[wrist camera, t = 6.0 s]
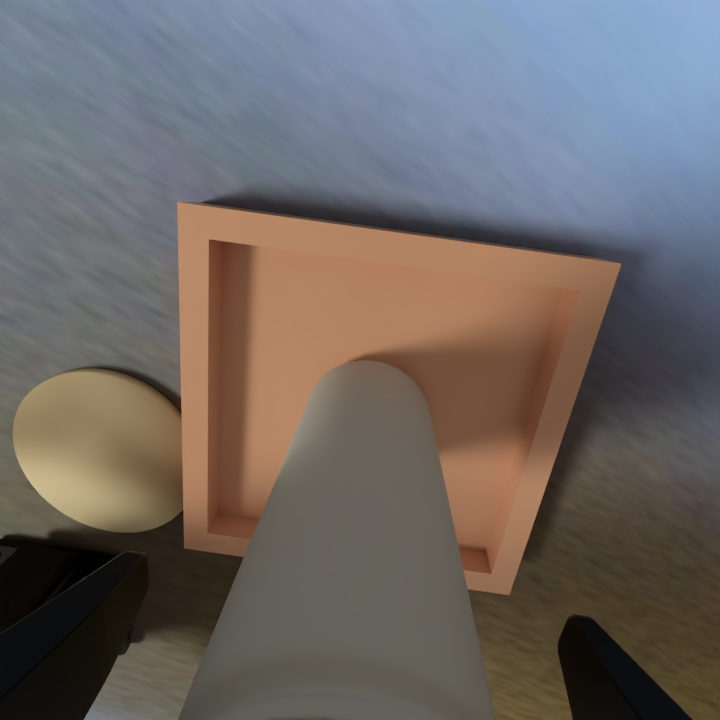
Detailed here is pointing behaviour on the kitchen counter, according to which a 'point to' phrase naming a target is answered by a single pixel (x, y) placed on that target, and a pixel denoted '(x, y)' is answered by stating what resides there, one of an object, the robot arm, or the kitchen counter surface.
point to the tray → (381, 344)
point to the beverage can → (350, 574)
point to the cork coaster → (102, 449)
